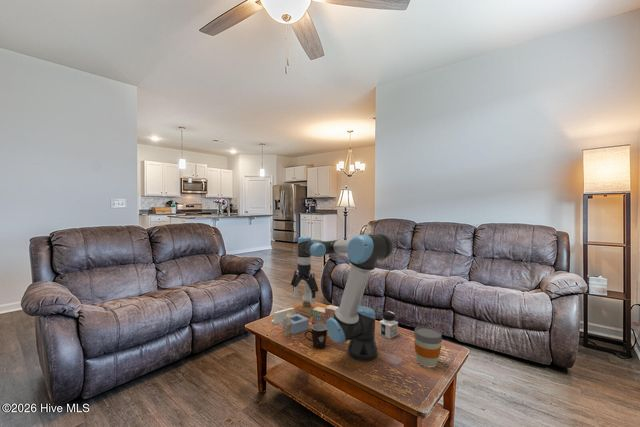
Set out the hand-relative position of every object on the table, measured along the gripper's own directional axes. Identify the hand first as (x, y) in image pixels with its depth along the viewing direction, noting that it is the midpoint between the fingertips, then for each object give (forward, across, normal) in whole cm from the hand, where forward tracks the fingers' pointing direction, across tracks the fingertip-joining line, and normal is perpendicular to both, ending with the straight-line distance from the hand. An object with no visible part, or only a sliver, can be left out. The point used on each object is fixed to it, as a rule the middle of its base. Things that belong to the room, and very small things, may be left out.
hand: (303, 300), depth 161 cm
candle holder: (+19, +20, -22) cm, 35 cm away
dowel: (+19, +4, +8) cm, 21 cm away
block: (+19, +8, -2) cm, 21 cm away
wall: (+19, +23, -3) cm, 30 cm away
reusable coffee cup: (+21, -63, -21) cm, 70 cm away
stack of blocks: (+20, -4, -18) cm, 27 cm away
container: (+20, -36, -34) cm, 53 cm away
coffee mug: (+20, -14, +4) cm, 25 cm away
